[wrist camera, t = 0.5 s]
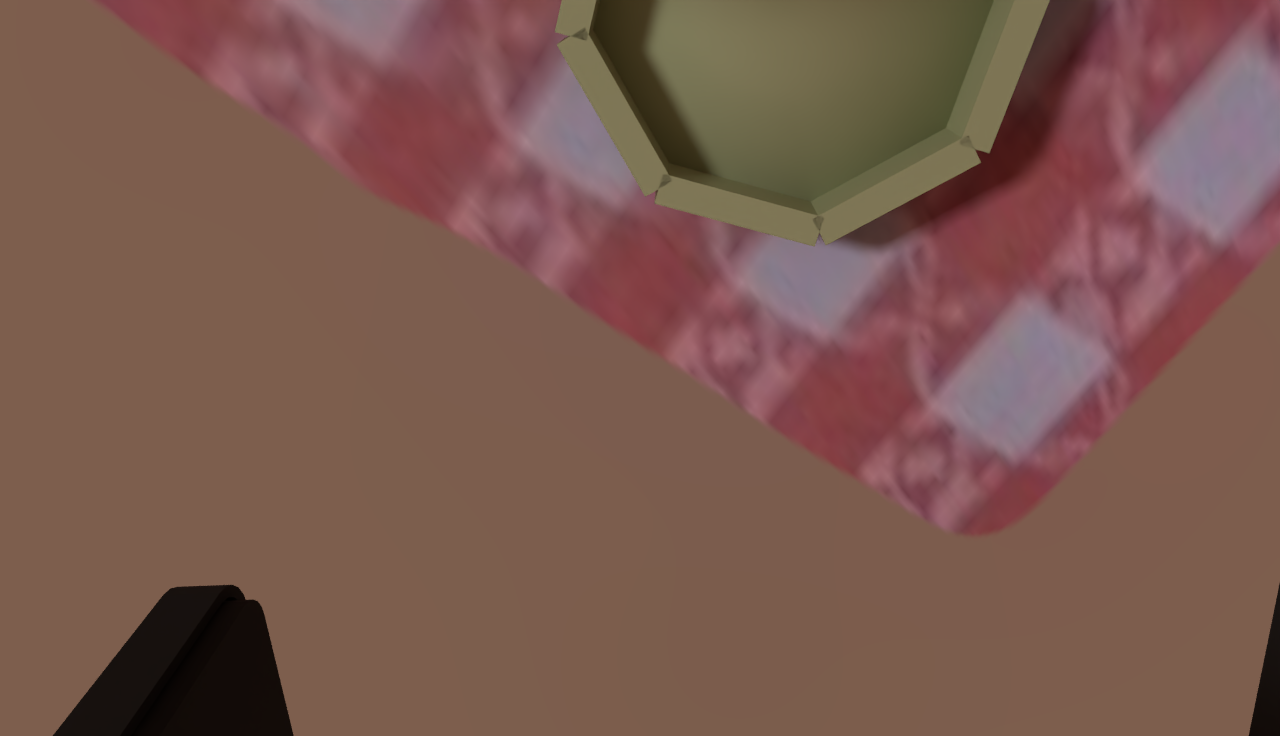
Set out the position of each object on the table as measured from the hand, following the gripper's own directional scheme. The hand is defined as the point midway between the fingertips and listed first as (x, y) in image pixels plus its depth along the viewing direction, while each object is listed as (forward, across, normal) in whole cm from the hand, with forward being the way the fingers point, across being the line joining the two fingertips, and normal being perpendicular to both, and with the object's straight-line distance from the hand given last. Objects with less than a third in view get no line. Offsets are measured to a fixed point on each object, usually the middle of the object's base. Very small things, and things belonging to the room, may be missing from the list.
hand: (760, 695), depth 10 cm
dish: (+28, -3, -5) cm, 28 cm away
